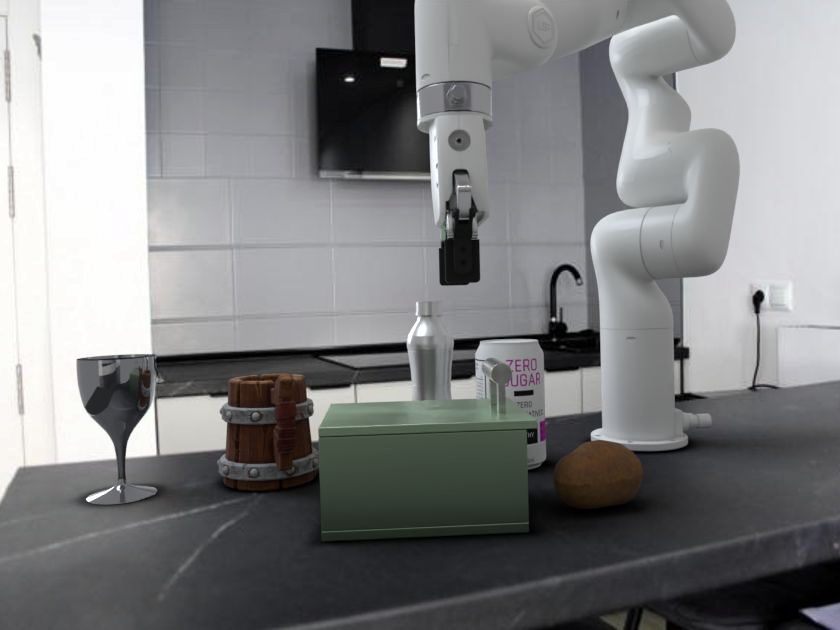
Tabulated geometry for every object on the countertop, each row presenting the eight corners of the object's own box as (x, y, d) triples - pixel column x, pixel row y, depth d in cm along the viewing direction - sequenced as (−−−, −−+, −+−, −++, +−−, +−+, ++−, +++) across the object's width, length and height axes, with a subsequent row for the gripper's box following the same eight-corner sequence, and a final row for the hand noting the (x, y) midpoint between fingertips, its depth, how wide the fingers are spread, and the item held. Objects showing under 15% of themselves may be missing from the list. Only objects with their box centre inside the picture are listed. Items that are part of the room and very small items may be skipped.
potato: (536, 506, 68) (534, 442, 68) (605, 489, 73) (604, 429, 73) (587, 524, 62) (586, 454, 62) (658, 503, 68) (657, 439, 68)
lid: (508, 404, 74) (507, 353, 74) (537, 428, 60) (535, 366, 60) (330, 411, 73) (329, 359, 73) (318, 437, 59) (316, 373, 59)
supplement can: (506, 453, 91) (503, 338, 91) (559, 462, 85) (556, 339, 85) (464, 465, 86) (461, 342, 85) (518, 475, 80) (515, 343, 79)
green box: (502, 489, 74) (500, 405, 74) (529, 532, 60) (526, 429, 60) (333, 496, 73) (330, 411, 73) (321, 542, 60) (318, 437, 59)
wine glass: (83, 510, 71) (77, 362, 70) (80, 492, 78) (75, 357, 78) (166, 497, 74) (160, 357, 74) (156, 481, 82) (151, 352, 81)
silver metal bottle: (458, 445, 97) (454, 300, 97) (456, 456, 90) (452, 301, 90) (412, 445, 98) (408, 302, 97) (406, 456, 91) (402, 302, 90)
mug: (304, 458, 90) (306, 344, 87) (340, 505, 77) (344, 374, 75) (210, 470, 85) (209, 350, 82) (233, 522, 72) (232, 382, 70)
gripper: (505, 84, 61) (509, 280, 62) (481, 132, 79) (485, 285, 79) (419, 86, 61) (424, 282, 61) (414, 133, 78) (418, 287, 79)
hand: (458, 284), depth 70 cm, fingers open, 9 cm apart
